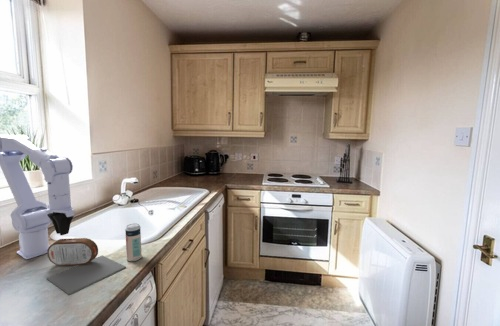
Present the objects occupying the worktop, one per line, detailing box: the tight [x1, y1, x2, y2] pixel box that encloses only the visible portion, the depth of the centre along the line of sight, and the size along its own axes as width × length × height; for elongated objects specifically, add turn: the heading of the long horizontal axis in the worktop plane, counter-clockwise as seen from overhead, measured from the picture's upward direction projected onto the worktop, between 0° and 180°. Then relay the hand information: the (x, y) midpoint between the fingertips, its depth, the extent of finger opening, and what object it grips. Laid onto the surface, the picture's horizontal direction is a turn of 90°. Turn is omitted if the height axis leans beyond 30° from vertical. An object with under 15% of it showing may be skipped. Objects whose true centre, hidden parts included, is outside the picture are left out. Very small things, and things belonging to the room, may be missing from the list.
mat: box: [46, 255, 127, 296], centre depth 75 cm, size 14×16×1 cm
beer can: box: [124, 223, 142, 262], centre depth 84 cm, size 5×5×12 cm
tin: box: [46, 237, 99, 267], centre depth 79 cm, size 15×3×8 cm, turn 92°
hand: (62, 233), depth 82 cm, fingers open, 2 cm apart
